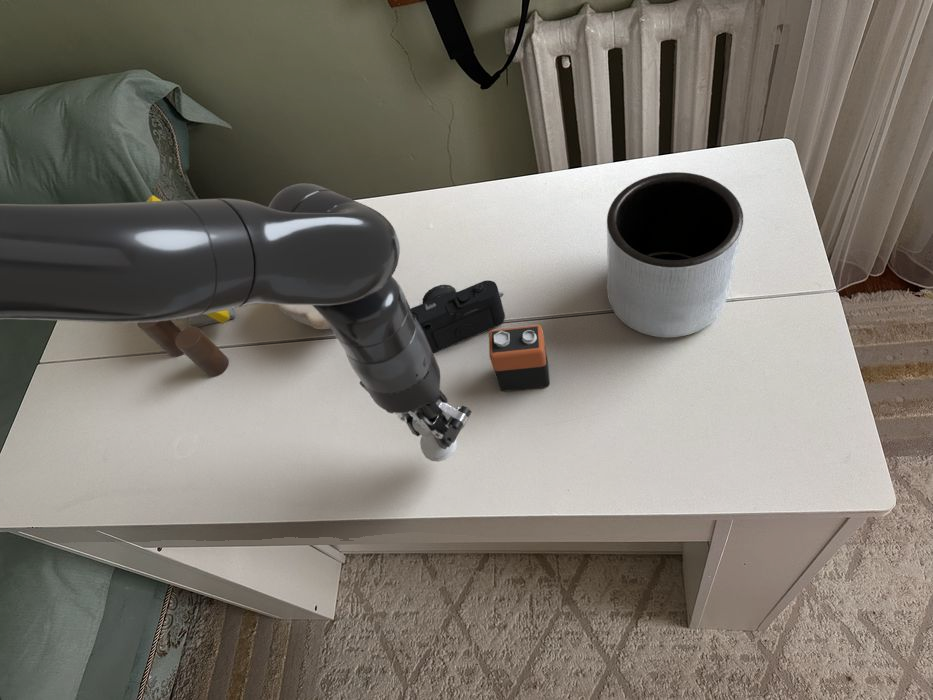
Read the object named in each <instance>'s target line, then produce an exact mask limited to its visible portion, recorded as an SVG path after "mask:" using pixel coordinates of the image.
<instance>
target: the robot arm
mask: <svg viewBox="0 0 933 700" xmlns="http://www.w3.org/2000/svg"><path fill="white" fill-rule="evenodd" d="M400 254H401V247H400V241H399V237H398V233H397V232H396V230H395V228H394V226H393V225H392V223H391V222H390V221H389V220H388V219H387V218H386V216H384V215H383V214H381V212H379V211H378V210H375V209H374V208H372V207H370V206H367V205H366V204H363V203H361V202H359V201H356V200H355V199H353V198H350V197H347V196H346V195H344V194H342V193H338V192H336V191H334V190H332V189H330V188H328V187H326V186H323V185H319V184H315V183H311V182H310V183H309V182H302V183H301V182H300V183H295V184H294V183H293V184H291V185H288V186H286V187H284V188H283V189H281V190H280V191H279V192H277V193H276V194H275V195H274V196H273V197H272V199H271V200H270V202H269V204H268V206H266V205H263V204H260V203H257V202H255V201H250V200H247V199H241V198H230V197H226V198H225V197H220V198H219V197H218V198H217V197H216V198H193V199H192V198H191V199H171V200H161V201H151V202H147V201H133V202H110V203H81V204H80V203H75V204H74V203H72V204H71V203H69V204H68V203H67V204H65V203H64V204H60V203H57V204H56V203H55V204H52V203H51V204H49V203H48V204H46V203H45V204H40V203H39V204H35V203H34V204H32V203H31V204H27V203H25V204H24V203H23V204H22V203H21V204H16V203H0V320H35V321H36V320H37V321H61V322H81V323H82V322H84V323H85V322H86V323H102V324H137V323H148V322H159V321H168V320H171V321H174V320H180V319H181V320H183V319H186V318H189V317H193V316H198V315H203V314H208V313H213V312H218V311H223V310H228V309H233V308H234V309H237V308H242V307H245V306H249V305H255V304H269V305H274V304H281V305H312V306H313V307H314V308H315V309H316V310H317V311H318V312H319V313H320V314H321V315H322V316H323V317H324V318H325V320H326V321H327V322H328V323H329V325H330V327H331V328H330V329H331V331H332V333H333V334H334V336H335V338H336V339H337V340H338V342H339V344H340V345H341V347H342V348H343V350H344V352H345V354H346V356H347V359H348V362H349V364H350V366H351V368H352V369H353V371H354V372H355V375H357V377H358V379H359V380H360V381H359V385H360V386H361V387H362V388H363V389H364V390H365V391H367V393H368V394H369V397H371V399H372V401H373V402H374V403H375V404H376V405H377V406H378V407H379V408H381V409H383V410H385V411H386V412H387V413H388V414H394V415H396V416H397V417H398V418H399V420H400V421H401V422H404V423H406V425H407V427H408V429H409V430H410V432H411V434H412V435H414V436H416V437H420V436H421V435H420V434H419V432H417V431H416V430H415V429H414V427H413V425H412V420H413V417H414V418H416V420H417V421H418V422H419V424H420V425H421V426H422V427H423V428H425V429H427V430H430V431H431V432H432V433H433V436H434V438H435V440H436V442H437V443H438V445H439V447H440V448H443V449H446V448H447V447H450V446H451V444H452V443H454V441H455V440H456V441H457V438H458V436H459V435H460V433H461V431H462V429H464V427H465V425H466V423H467V422H468V420H469V418H470V416H471V414H472V410H471V409H470V408H469V407H468V406H466V405H461V406H460V407H459V406H456V407H454V406H452V405H450V404H448V403H449V402H448V401H449V400H448V397H447V396H446V395H445V394H444V393H443V391H441V370H440V366H439V364H438V362H437V359H436V357H435V355H434V353H433V352H432V350H431V347H430V345H429V343H428V340H427V338H426V336H425V333H424V331H423V329H422V327H421V326H420V324H419V323H418V321H417V320H416V318H415V317H414V315H413V313H412V311H411V308H412V307H411V306H410V303H409V301H408V299H407V297H406V295H405V293H404V291H403V289H402V287H401V285H400V284H399V282H398V281H397V280H396V279H395V277H393V275H394V273H395V271H396V269H397V267H398V264H399V260H400ZM0 700H2V696H1V695H0Z"/></svg>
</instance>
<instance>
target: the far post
mask: <svg viewBox="0 0 933 700" xmlns="http://www.w3.org/2000/svg"><path fill="white" fill-rule="evenodd" d="M136 325H137V327H138V328H139V329H140V330H141V331H143V333H145V334H146V335H147V336H148V337H149V338H150V339H151V340H153V341H154V343H155V344H157V346H159V347H160V348H161V349H162V350H163V351H164V352H165V353H167V354H168V355H169V356H170V357H173V358H177V357H180V356H183V355H185V354H184V353H183V352H182V351H181V350H180V349H179V348H178V347H177V346H176V343H175V340H176V337H177V335H178V334H179V333H180V332H181V331H182V330H183V329H181V328H180V327H179V326H178V325H176V323H175V322H174V321H173V320H168V321H159V322H148V323H136Z"/></svg>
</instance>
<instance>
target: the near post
mask: <svg viewBox="0 0 933 700" xmlns="http://www.w3.org/2000/svg"><path fill="white" fill-rule="evenodd" d="M181 330H182V331H181V332H180V333H179V334H178V335H177V337H176V340H175V343H176V346H177V347H178V348H179V349H180V350H181V351H182V352H183V353H184V354H183V355H186V357H187V358H188V359H189V360H190V361H191V362H193V364H195V365H196V366H197V367H198V368H199V369H200V370H201V371H202V372H203V373H204V374H205V375H206V376H208V377H211V378H214V377H215V378H216V377H218V376H220V375H222V374H223V373H224V372H225V371H226V370H227V369H228V367H229V363H230V362H229V361H230V360H229V358H228V357H227V355H225V353H224V352H223V351H222V350H221V349H220V348H219V347H218V346H217V344H215V343H214V342H213V341H212V340H211V339H210V337H208V335H206V334H205V332H203V331H202V329H200V328H199V327H195V326H190V325H189V326H187V327H185V328H183V329H181Z"/></svg>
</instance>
